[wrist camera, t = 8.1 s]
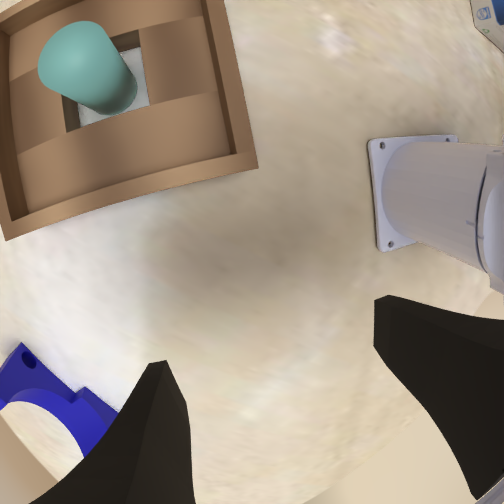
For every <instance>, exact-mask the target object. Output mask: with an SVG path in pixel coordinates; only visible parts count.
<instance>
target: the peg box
mask: <svg viewBox="0 0 504 504" xmlns="http://www.w3.org/2000/svg"><path fill="white" fill-rule="evenodd" d="M79 21H91V22H94V23H96V24H98V25H100V26H101V27H102V28H103V29H104V31H105V32H106V34H107V35H108V37H109V39H110V40H111V42H112V43H113V45H114V46H115V48H116V49H117V51H118V53H119V52H122V51H125V50H129V49H132V48H136V47H140V46H141V52H142V59H143V66H144V72H145V79H146V85H147V91H148V96H149V102H150V106H146V107H143V108H139V109H136V110H132V111H129V112H126V113H122V114H119V115H116V116H113V117H110V118H107V119H104V120H101V121H98V122H95V123H92V124H89V125H86V126H84V127H80V121H79V114H78V107H77V102H76V101H74V100H72V99H70V98H68V97H66V96H64V95H62V94H60V93H58V92H56V91H54V90H51V89H49V88H48V87H46V86H45V85H44V84H43V83H42V82H41V80H40V78H39V75H38V60H39V57H40V54H41V52H42V49H43V48H44V46H45V44H46V43H47V42H48V40H49V39H50V38H51V37H52V36H53V35H54V34H55V33H56V32H57V31H59V30H60V29H62V28H63V27H65V26H67V25H69V24H72V23H75V22H79ZM252 169H258V163H257V157H256V152H255V147H254V142H253V137H252V132H251V127H250V122H249V117H248V112H247V107H246V102H245V97H244V92H243V87H242V82H241V78H240V73H239V68H238V63H237V59H236V54H235V49H234V45H233V40H232V35H231V31H230V26H229V22H228V17H227V13H226V8H225V4H224V0H22V1H20V2H18V3H17V4H15V5H13V6H12V7H10V8H8V9H7V10H5V11H3V12H2V13H0V224H1V228H2V231H3V234H4V238H5V241H8V240H11V239H13V238H16V237H18V236H21V235H23V234H26V233H29V232H31V231H34V230H37V229H39V228H42V227H45V226H48V225H50V224H53V223H56V222H59V221H62V220H65V219H68V218H71V217H74V216H77V215H80V214H83V213H86V212H89V211H92V210H95V209H99V208H102V207H105V206H108V205H112V204H115V203H118V202H122V201H125V200H129V199H132V198H136V197H139V196H143V195H146V194H150V193H154V192H157V191H161V190H165V189H169V188H173V187H177V186H181V185H185V184H189V183H193V182H197V181H202V180H206V179H210V178H215V177H219V176H224V175H228V174H233V173H238V172H243V171H247V170H252Z"/></svg>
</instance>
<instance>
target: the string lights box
mask: <svg viewBox="0 0 504 504" xmlns="http://www.w3.org/2000/svg"><path fill="white" fill-rule="evenodd" d="M470 2H471V7H472V13H473V19H474V25H475V27H476V28H477V29H478V30H479V31H480V32H481V33H483V34H484V35H485V36H486V37H487V38H488V39H490V40H491V41H492V42H493V43H494V44H495V45H496V46H497V47H498V48H499V49H500V50H501V51H503V52H504V0H470Z"/></svg>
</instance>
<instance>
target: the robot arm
mask: <svg viewBox="0 0 504 504" xmlns="http://www.w3.org/2000/svg"><path fill="white" fill-rule="evenodd" d="M380 142H381V143H382V148H380V146H379V145H380ZM502 144H503V146H499V145H488V144H473V143H458V138H457V136H456V135H424V136H405V137H391V138H378V139H371V140H370V141H369V142H368V151H369V159H370V166H371V175H372V183H373V193H374V204H375V216H376V231H377V247H378V250H379V251H381V252H388V251H391V250H395V249H398V248H401V247H404V246H407V245H410V244H413V243H417V242H420V243H422V244H424V245H427V246H429V247H431V248H434V249H436V250H438V251H440V252H443V253H445V254H447V255H449V256H452V257H454V258H456V259H458V260H460V261H462V262H465V263H467V264H469V265H471V266H473V267H475V268H477V269H479V270H481V271H484V272H486V273H488V274H489V277H490V288H492V289H494V290H496V291H498V292H500V293H501V294H503V295H504V134H503V136H502ZM389 242H391V243H390V245H389V246H388V243H389ZM373 346H374V348H375V349H376V351H377V352H378V354H379V355H380V357H381V358H382V360H383V361H384V363H385V364H386V366H387V367H388V368H389V369H390V370H391V371H392V373H393V374H394V375H395V376H396V377H397V378H398V379H399V380H400V381H401V383H402V384H403V385H404V386H405V387H406V388H407V389H408V390H409V391H410V392H411V393H412V395H413V396H414V397H415V398H416V399H417V400H418V401H419V402H420V403H421V404H422V406H423V407H424V408H425V409H426V411H427V412H428V413H429V415H430V416H431V418H432V419H433V421H434V422H435V424H436V425H437V427H438V428H439V430H440V431H441V433H442V434H443V436H444V438H445V439H446V441H447V443H448V444H449V446H450V448H451V449H452V452H453V453H454V455H455V457H456V459H457V461H458V463H459V465H460V467H461V470H462V472H463V474H464V476H465V479H466V481H467V484H468V486H469V489H470V492H471V494H472V495H473V496H474V498H475V499H476V500H478V499H480V498H481V497H482V496H483V495H484V494H486V493H487V492H488V491H489V490H490V489H491V488H492V487H494V486H495V485H496V484H497V483H498V482H499V481H500V480H501V479H502V478H503V477H504V320H498V319H489V318H482V317H475V316H470V315H465V314H461V313H456V312H452V311H448V310H444V309H440V308H437V307H433V306H429V305H426V304H422V303H419V302H415V301H412V300H408V299H405V298H401V297H397V296H392V295H387V296H384V297H382V298H379V299H376V300H374V345H373ZM502 502H504V479H503V480H501V482H499V483H498V484H497V485H496V486H495V487H494V488H493V489H492V490H491V491H490V492H488V493H487V494H486V495H485V496H484V497H482V498H481V499H480V500H479V501H478V502H477V503H475V504H502ZM29 504H196V503H195V497H194V491H193V480H192V460H191V434H190V424H189V417H188V411H187V404H186V401H185V399H184V397H183V395H182V393H181V391H180V389H179V387H178V385H177V383H176V380H175V378H174V376H173V374H172V372H171V369H170V367H169V365H168V363H167V360H164V361H159V362H154V363H149V364H148V366H147V367H146V369H145V371H144V372H143V374H142V376H141V377H140V379H139V381H138V382H137V384H136V386H135V388H134V389H133V391H132V393H131V394H130V396H129V398H128V399H127V401H126V403H125V404H124V406H123V407H122V409H121V411H120V412H119V414H118V415H117V416H116V418H115V419H114V421H113V422H112V424H111V425H110V427H109V428H108V430H107V431H106V432H105V434H104V435H103V436H102V438H101V439H100V440H99V441H98V443H97V444H96V445H95V446H94V447H93V449H92V450H91V451H90V452H89V453H88V454H87V455H86V457H85V458H84V459H83V460H82V461H81V462H80V463H79V464H78V465H77V466H76V467H75V468H74V469H73V470H72V471H71V472H70V473H68V474H67V475H66V476H65V477H64V478H63V479H62V480H61V481H60V482H58V483H57V484H56V485H55V486H54V487H52V488H51V489H50V490H48V491H47V492H46V493H44V494H43V495H42V496H40V497H39V498H37V499H36V500H34V501H32V502H31V503H29Z"/></svg>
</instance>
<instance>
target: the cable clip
mask: <svg viewBox="0 0 504 504" xmlns="http://www.w3.org/2000/svg"><path fill="white" fill-rule="evenodd" d="M15 401H24V402H30V403H33V404H36V405H38V406H40V407H42V408H44V409H46V410H47V411H49V412H50V413H52V414H53V415H54V416H55V417H57V418H58V419H59V420H60V421H61V422H62V423H63V424H64V425H65V426H66V427H67V429H68V430H69V431H70V432H71V434H72V435H73V437H74V438H75V440H76V441H77V443H78V445H79V447H80V449H81V451H82V453H83V456H84V458H85V457H86V455H87V454H88V453H89V452H90V451H91V450H92V449H93V447H94V446H95V445H96V444H97V443H98V441H99V440H100V439H101V438H102V436H103V435H104V434H105V432H106V431H107V430H108V428H109V427H110V425H111V424H112V422H113V421H114V419H115V418H116V416H117V415H118V414H119V413H118V412H117V411H115V410H114V409H113V408H111V407H110V406H109V405H107V404H106V403H105V402H104V401H102V400H101V399H100V398H99V397H97V396H96V395H95V394H94V393H92V392H91V391H90V390H89V389H88V388H86V387H84V388H82V389H81V390H79V391H78V392H76V393H74V392H73V391H72V390H71V389H70V388H69V387H67V386H66V385H65V384H64V383H63V382H62V381H61V380H59V379H58V378H57V377H56V376H55V375H54V374H53V373H52V372H51V371H50V370H49V369H48V368H47V367H46V366H45V365H43V364H42V363H41V362H40V361H39V360H38V359H37V358H36V357H35V356H34V355H33V354H32V353H31V351H30V350H29V349H28V348H27V347H26V346H25V345H24V344H23V343H22V342H21V343H20V344H19V346H18V347H17V348H16V349H15V350H14V351H13V352H12V353H11V354H10V355H9V356H8V358H7V359H6V360H5V362H4V363H3V365H2V366H1V368H0V410H1V409H3V408H4V407H5V406H6V405H7V404H8V403H10V402H15Z"/></svg>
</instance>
